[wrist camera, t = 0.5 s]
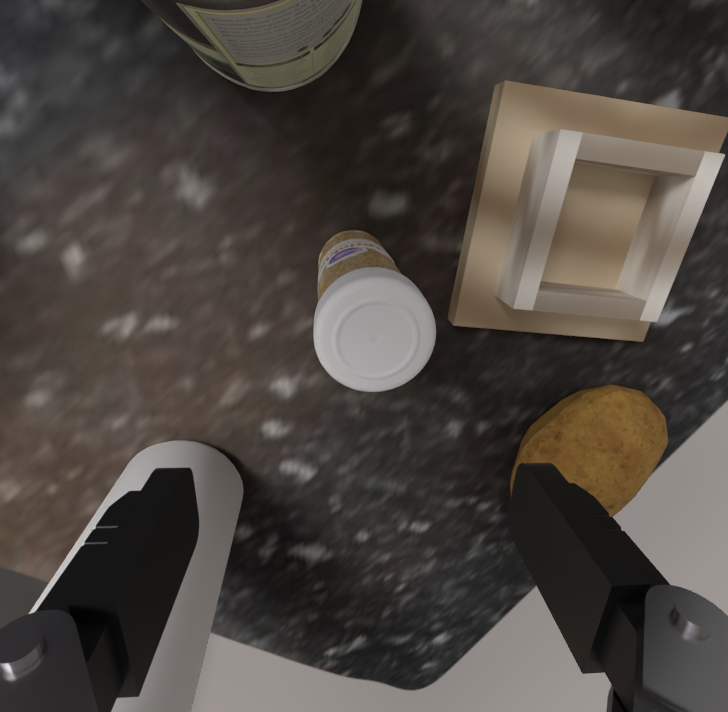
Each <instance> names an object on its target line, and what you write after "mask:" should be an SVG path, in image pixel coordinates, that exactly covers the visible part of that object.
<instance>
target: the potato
mask: <svg viewBox="0 0 728 712" xmlns="http://www.w3.org/2000/svg"><path fill="white" fill-rule="evenodd" d="M667 444H668V434H667V427H666V419H665V416H664V415H663V414H662V412H661V411H660V409H659V408H658V407H657V406H656V405H655V404H653V403H652V402H651V400H650V399H649V398H648V397H647V396H646V395H645V394H643V393H642V392H641V391H639V390H634V389H630V388H625V387H621V386H616V385H612V384H611V385H606V386H601V387H595V388H590V389H584V390H580V391H578V392H576V393H574V394H572V395H570V396H568V397H566V398H565V399H563V400H561V401H560V402H559V403H557V404H556V405H555V406H554V407H552V408H551V409H550V410H549V411H547V412H546V413H545V414H544V415H543V416H541V417H540V418H539V419H538V420H537V421H536V422H534V423H533V424H532V425H531V426H530V427H529V429H528V431H527V432H526V434H525V436H524V437H523V439H522V441H521V443H520V447H519V451H518V454H517V458H516V461H515V464H514V467H513V470H512V474H511V482H510V489H511V494H512V489H513V484H514V479H515V474H516V469H517V467H518V465H519V464H521V463H552V464H554V465H555V466H556V468H557V469H558V470H559V471H560V473H561V474H562V475H563V476H564V477H565V479H566V480H567V481H568V482H569V483H575V484H577V485H578V486H580V487H581V488H583V489H584V490H586V491H587V492H588V493H590V494H591V495H593V496H594V497H595V498H596V499H597V500H598V501H599V502H600V504H601V505H602V506H603V507H604V508H605V509H606V510H607V512H608V513H609V516H610V517H613V516H614V515H615V514H616V513H618V512H619V511H620V510H621V509H622V508H623V507H624V506H625V505H626V504H628V503H629V502H630V501H631V500H632V499H633V498H634V497H635V495H636V494H637V493H638V491H639V490H640V489H641V487H642V486H643V485H644V483H645V482H646V481H647V479H648V478H649V476H650V475H651V473H652V471H653V470H654V468H655V467H656V465H657V464H658V462H659V460H660V458H661V456H662V454H663V452H664V450H665V448H666V446H667Z"/></svg>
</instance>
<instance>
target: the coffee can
mask: <svg viewBox="0 0 728 712" xmlns="http://www.w3.org/2000/svg"><path fill="white" fill-rule="evenodd" d="M141 1H142V2H143V3H144V4H145V5H146V6H147V7H148V8H149V9H150V10H152V11H153V12H154V13H155V14H156V15H157V16H158V17H159V18H160V19H161V20H162V21H163V22H164V23H165V24H166V25H168V26H169V27H170V28H171V29H172V30H173V31H174V32H175V33H176V34H177V35H178V36H179V37H180V38H181V39H182V40H183V41H184V42H185V43H187V44H188V45H189V47H190V48H191V49H193V51H194V52H195V53H196V54H197V55H198V56H199V57H200V58H201V59H202V60H203V61H204V62H205V63H206V64H207V65H208V66H209V67H211V68H212V69H213V70H214V71H216V72H217V73H218V74H220V75H221V76H223V77H224V78H226V79H228V80H230V81H232V82H234V83H236V84H238V85H241V86H244V87H246V88H249V89H253V90H257V91H266V92H280V91H287V90H292V89H295V88H298V87H301V86H304V85H306V84H308V83H310V82H312V81H314V80H315V79H317V78H319V77H320V76H322V75H323V74H324V73H325V72H326V71H327V70H328V69H329V68H330V67H331V66H332V65H333V64H334V63H335V62H336V61H337V59H338V58H339V57H340V55H341V54H342V52H343V51H344V49H345V48H346V46H347V45H348V43H349V41H350V39H351V36H352V34H353V32H354V29H355V27H356V24H357V21H358V17H359V13H360V9H361V5H362V1H363V0H141Z"/></svg>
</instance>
